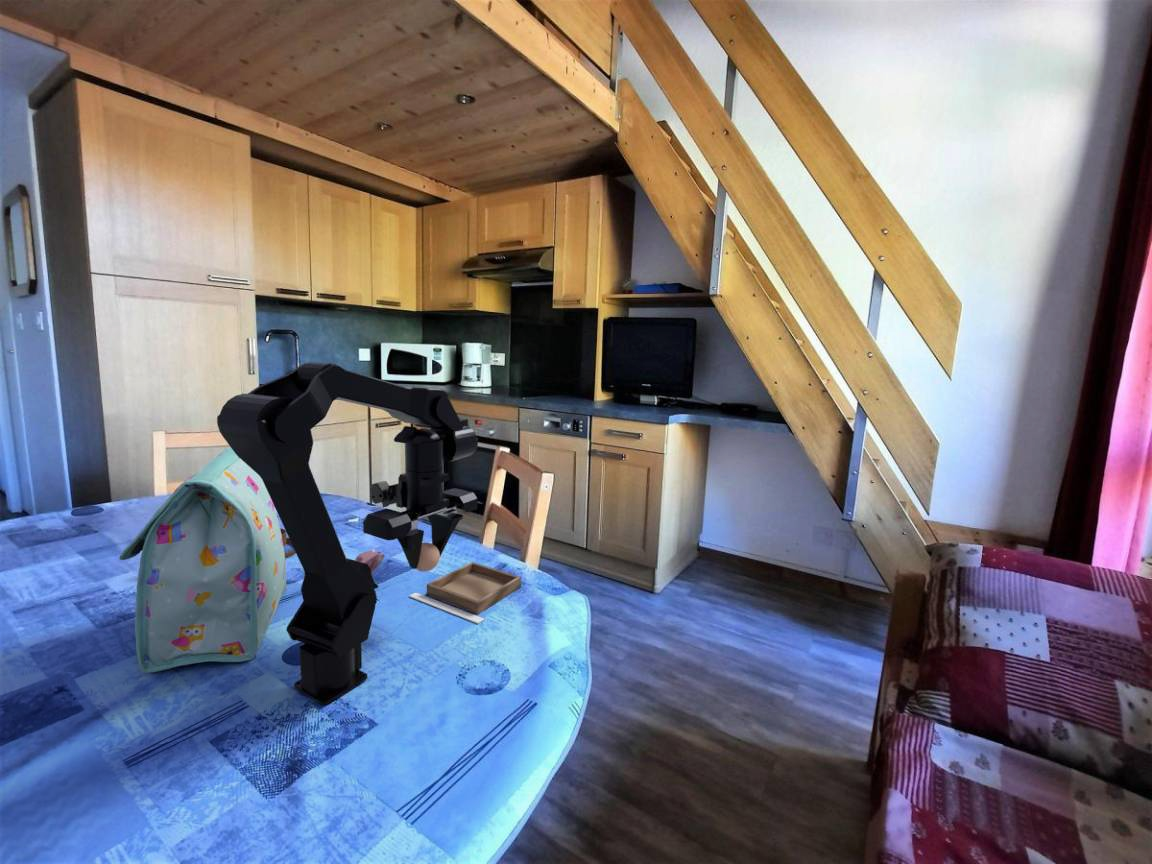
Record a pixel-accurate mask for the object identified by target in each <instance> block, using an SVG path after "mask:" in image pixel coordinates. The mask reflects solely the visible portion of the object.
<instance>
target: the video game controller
mask: <svg viewBox="0 0 1152 864" xmlns="http://www.w3.org/2000/svg"><path fill="white" fill-rule="evenodd" d="M384 558H385V554H384V553H382V552H381V551H379V550H375V549H374V548H372V549H371V550H370V551H369V550H367V551H364V552H362V553H359V554H358V555H357V556H356V557H355V559H354V560H355V561H359V562H363V563H366V564H368V565H369V567H370V569H371V573H372V574H373V573H374V572H375V570H376V569H377V568H378V567H379V566H380V565H381V563H382V562H383V560H384Z"/></svg>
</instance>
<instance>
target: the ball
mask: <svg viewBox="0 0 1152 864" xmlns="http://www.w3.org/2000/svg"><path fill="white" fill-rule="evenodd" d="M440 557H441V556H440V553H439V550H438V548H437V547H436V546H435V545H433V544H432V542H422V546H421V552H420V558H419V562H418V566H417V568H416V569H415V570H417V571H419V572H425V573H426V572H430V571H431V570H434V568H436V567H437V566H438V564H439V562H440Z"/></svg>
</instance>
